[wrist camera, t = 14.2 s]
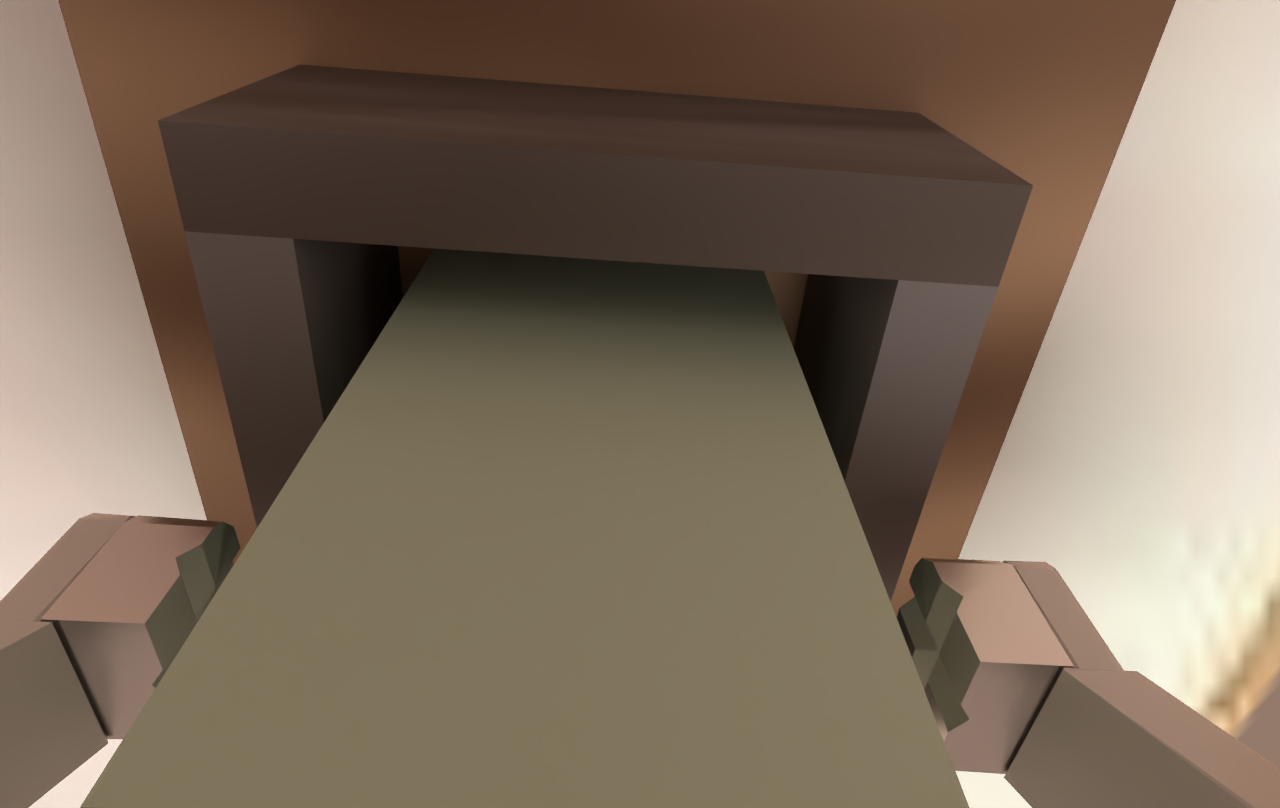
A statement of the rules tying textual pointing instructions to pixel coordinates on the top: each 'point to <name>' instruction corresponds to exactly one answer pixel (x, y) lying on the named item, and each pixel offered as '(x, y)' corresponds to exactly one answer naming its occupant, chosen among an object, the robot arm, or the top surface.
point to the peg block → (553, 575)
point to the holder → (618, 197)
